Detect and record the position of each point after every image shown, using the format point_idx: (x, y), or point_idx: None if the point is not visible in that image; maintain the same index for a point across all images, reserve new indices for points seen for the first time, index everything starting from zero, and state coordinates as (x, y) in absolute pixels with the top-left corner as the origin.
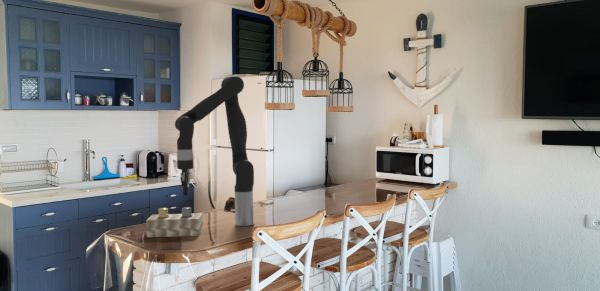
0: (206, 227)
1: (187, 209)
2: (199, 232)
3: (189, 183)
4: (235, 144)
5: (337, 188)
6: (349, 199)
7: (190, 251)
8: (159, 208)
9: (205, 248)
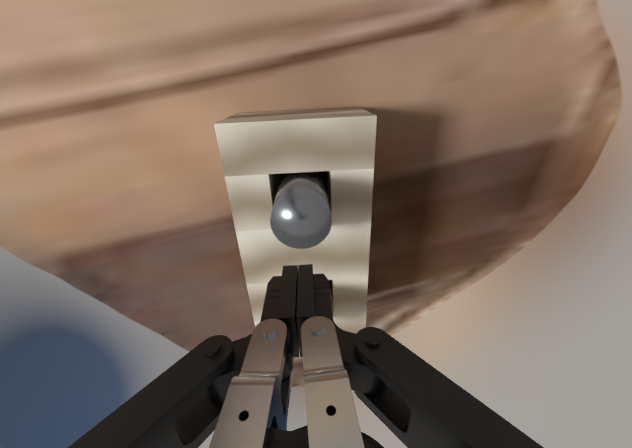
0: (196, 100)
1: (328, 209)
2: (345, 108)
3: (218, 350)
4: None
5: None
6: None
7: (604, 92)
8: None
9: (591, 26)
